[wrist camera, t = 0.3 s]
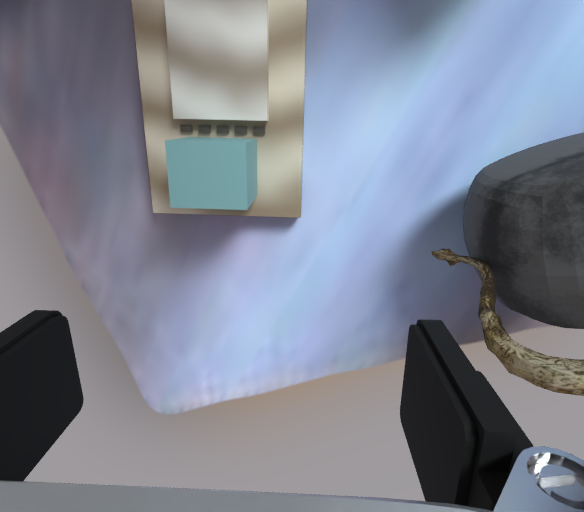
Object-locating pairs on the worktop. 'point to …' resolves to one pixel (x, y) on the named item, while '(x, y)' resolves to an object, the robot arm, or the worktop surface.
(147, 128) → the ticket board
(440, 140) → the worktop surface
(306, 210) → the worktop surface
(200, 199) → the block
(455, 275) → the worktop surface
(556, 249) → the pitcher
